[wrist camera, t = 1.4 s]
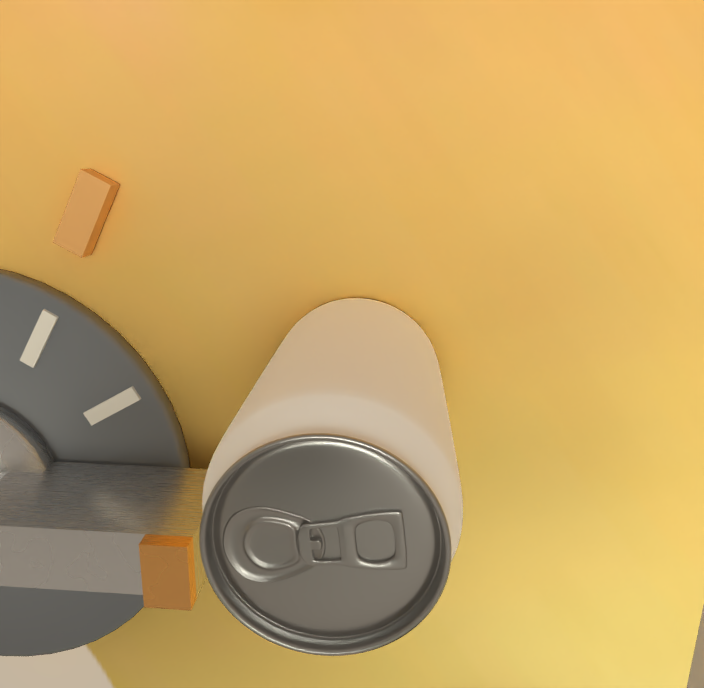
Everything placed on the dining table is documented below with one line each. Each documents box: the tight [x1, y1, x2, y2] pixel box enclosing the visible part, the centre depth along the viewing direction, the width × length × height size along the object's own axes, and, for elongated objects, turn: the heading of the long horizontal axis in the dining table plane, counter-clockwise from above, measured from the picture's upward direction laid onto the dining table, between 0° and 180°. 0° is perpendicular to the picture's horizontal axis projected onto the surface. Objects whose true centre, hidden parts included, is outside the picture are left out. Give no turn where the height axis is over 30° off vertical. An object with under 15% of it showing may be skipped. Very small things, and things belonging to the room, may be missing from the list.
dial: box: [0, 406, 208, 610], centre depth 24 cm, size 15×8×5 cm, turn 89°
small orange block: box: [53, 169, 120, 258], centre depth 24 cm, size 3×1×1 cm, turn 152°
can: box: [199, 298, 463, 656], centre depth 20 cm, size 6×6×12 cm
